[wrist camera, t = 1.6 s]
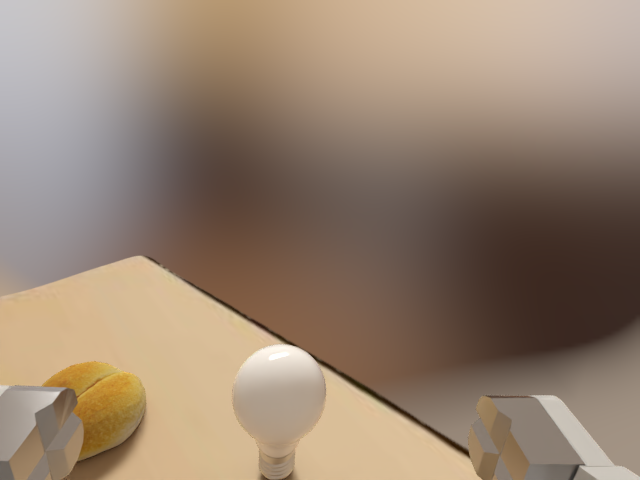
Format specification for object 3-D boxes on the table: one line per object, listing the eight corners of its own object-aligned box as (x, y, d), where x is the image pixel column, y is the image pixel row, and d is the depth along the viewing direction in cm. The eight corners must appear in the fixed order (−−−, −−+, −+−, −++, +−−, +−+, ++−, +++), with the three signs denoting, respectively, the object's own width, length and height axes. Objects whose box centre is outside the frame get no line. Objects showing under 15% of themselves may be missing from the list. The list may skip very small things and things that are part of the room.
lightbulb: (219, 498, 28) (213, 380, 23) (252, 425, 33) (252, 318, 29) (306, 523, 27) (318, 404, 22) (325, 443, 32) (337, 335, 28)
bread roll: (88, 484, 28) (78, 445, 26) (7, 435, 31) (-7, 398, 29) (170, 402, 35) (166, 368, 33) (97, 369, 38) (90, 335, 36)
